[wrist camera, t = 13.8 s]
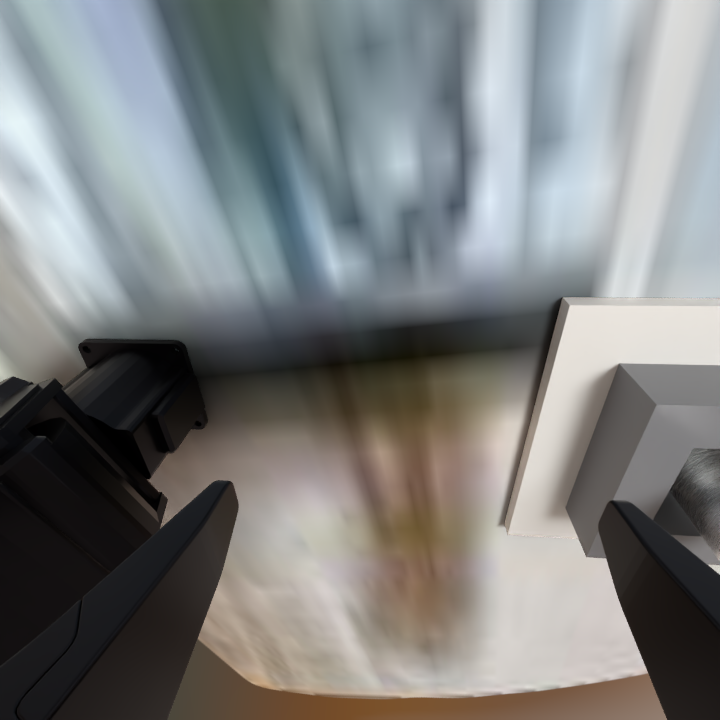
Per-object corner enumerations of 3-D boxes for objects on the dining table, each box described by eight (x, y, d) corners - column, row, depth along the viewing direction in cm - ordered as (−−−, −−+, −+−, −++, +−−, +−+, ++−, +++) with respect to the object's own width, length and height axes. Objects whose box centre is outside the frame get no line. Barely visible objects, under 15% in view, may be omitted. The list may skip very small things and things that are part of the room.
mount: (504, 522, 29) (520, 583, 25) (562, 297, 20) (601, 339, 16) (765, 536, 28) (824, 603, 24) (962, 299, 18) (1110, 346, 14)
